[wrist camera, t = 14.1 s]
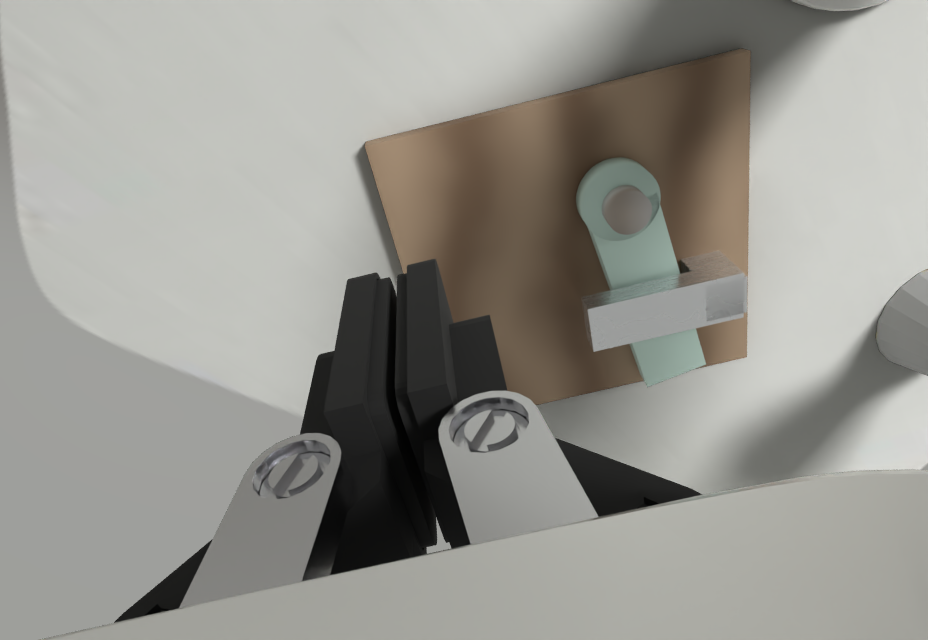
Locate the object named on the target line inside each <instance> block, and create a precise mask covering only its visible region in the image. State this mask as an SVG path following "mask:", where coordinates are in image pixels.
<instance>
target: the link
mask: <svg viewBox="0 0 928 640" xmlns="http://www.w3.org/2000/svg"><path fill="white" fill-rule="evenodd" d="M621 185H632V186H634V187H636V188H638V189H639V190H640V191H641V192H642V193H643V194H644V195H645V196H646V197H647V198H648V199H649V201H650V202H651V205H652V215H651V218H650V220H649V222H648V223H647V225H646V226H645V227H644V228H643V229H641V230H640V231H638V232H636V233H634V234H630V235H623V234H619V233H617V232H615V231H614V230H613V229H612V228H611V227H610V225H609V224H608V223H607V221H606V220H605V219H604V217H603V215H602V203H603V200H604V198H605V197H606V195H607V194H608V193H609V192H610V191H611V190H612V189H614V188H616V187H618V186H621ZM660 200H661V194H660V188H659V185H658V183H657V181H656V179H655V178H654V177H653V175H652V174H651V173H649V172H648V171H647V170H646V169H645V168H644V167H643V166H642V165H640V164H639V163H638V162H636V161H634V160H632V159H628V158H623V157H616V158H610V159H606V160H604V161H602V162H600V163H598V164H596V165H595V166H593V167H592V168H591V169H590V170H589V171H588V172H587V173H586V174H585V176H584V177H583V178H582V180H581V182H580V184H579V186H578V190H577V194H576V205H577V209H578V212H579V214H580V216H581V218H582V219H583V221H584V222H585V224H586V225H587V227H588V230H589V233H590V236H591V238H592V241H593V244H594V247H595V249H596V252H597V255H598V258H599V261H600V263H601V266H602V269H603V272H604V275H605V277H606V280H607V283H608V286H609V288H610V290H613V289H618V288H622V287H626V286H630V285H635V284H639V283H643V282H648V281H652V280H656V279H660V278H665V277H669V276H673V275H677V274H680V271H679V268H678V264H677V261H676V257H675V254H674V251H673V247H672V244H671V240H670V237H669V233H668V230H667V226H666V223H665V219H664V216H663V212H662V209H661V205H660ZM630 347H631V350H632V352H633V355H634V358H635V361H636V364H637V366H638V369H639V372H640V375H641V376H642V378H643V380H644V382H645V383H646V385H647V387H649V386H652V385H655V384H657V383H660V382H662V381H665V380H667V379H670V378H673V377H675V376H678V375H680V374H683V373H685V372H688V371H691V370H693V369H696V368H698V367H701V366H703V365H706V362H705V359H704V355H703V352H702V348H701V345H700V341H699V338H698V334H697V331H696V328H695V329H691V330H686V331H682V332H678V333H673V334H669V335H665V336H660V337H656V338H652V339H647V340H643V341H639V342H634V343H630Z"/></svg>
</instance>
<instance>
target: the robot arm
mask: <svg viewBox="0 0 928 640" xmlns="http://www.w3.org/2000/svg"><path fill="white" fill-rule="evenodd" d="M791 1H793V2H795V3H798V4H801V5H804V6H807V7H810V8H813V9H821V10H829V11H851V10H859V9H863V8H867V7H871V6H875V5H879V4H881V3H883V2H886V1H888V0H791ZM436 517H437V520H438V523H439V526H440V528H441V531H442V534H443V537H444V539H445V541H446V543H447V542H450V545H451V548H452V549H448V550H443V551H439V552H434V553H429V554H427V552H426V547H429V546H433V545H436V544H437V528H436ZM40 640H928V470H914V469H905V470H865V471H848V472H839V473H830V474H821V475H812V476H803V477H797V478H792V479H786V480H781V481H775V482H770V483H764V484H759V485H753V486H748V487H742V488H737V489H731V490H726V491H720V492H715V493H709V494H704V495H702V494H700V493H698V492H696V491H695V490H693V489H690V488H688V487H685V486H682V485H680V484H677V483H674V482H672V481H669V480H666V479H664V478H661V477H658V476H656V475H653V474H650V473H648V472H645V471H642V470H639V469H637V468H634V467H631V466H629V465H626V464H623V463H621V462H618V461H615V460H613V459H610V458H607V457H605V456H602V455H599V454H597V453H594V452H591V451H589V450H586V449H583V448H581V447H578V446H575V445H573V444H570V443H567V442H564V441H562V440H559V439H556V438H554V436H553V434H552V433H551V431H550V429H549V427H548V425H547V424H546V422H545V420H544V418H543V416H542V415H541V413H540V411H539V409H538V407H537V406H536V405H535V404H534V403H533V402H532V401H531V400H530V399H529V398H527V397H525V396H523V395H521V394H519V393H515V392H510V391H507V386H506V382H505V378H504V374H503V369H502V365H501V361H500V357H499V352H498V348H497V344H496V339H495V335H494V331H493V327H492V322H491V318H490V315H485V316H481V317H477V318H473V319H468V320H464V321H460V322H455V323H453V319H452V315H451V311H450V308H449V304H448V300H447V297H446V293H445V289H444V286H443V282H442V278H441V275H440V271H439V267H438V264H437V261H436V259H431V260H427V261H422V262H418V263H414V264H410V265H407V273H405V274H401V275H398V277H397V296H396V293H395V290H394V287H393V284H392V281H391V279H390V278H389V277H388V278H384V279H380V277H379V275H378V274H377V273H372V274H368V275H364V276H360V277H356V278H351V279H348V281H347V285H346V290H345V296H344V301H343V307H342V312H341V318H340V323H339V329H338V335H337V340H336V346H335V351H332V352H328V353H323V354H320V355H318V358H317V360H316V365H315V369H314V374H313V378H312V383H311V387H310V392H309V396H308V401H307V405H306V410H305V414H304V419H303V423H302V428H301V432H300V435H296V436H292V437H290V438H287V439H285V440H283V441H280V442H278V443H276V444H275V445H273V446H272V447H270V448H269V449H267V450H266V451H264V452H263V453H262V454H261V455H260V456H259V457H258V458H257V459H256V460H255V461H253V462H252V464H251V465H250V467H249V468H248V470H247V471H246V473H245V475H244V477H243V479H242V481H241V483H240V485H239V487H238V489H237V491H236V493H235V495H234V497H233V499H232V501H231V503H230V505H229V507H228V509H227V511H226V513H225V515H224V518H223V519H222V521H221V523H220V526H219V528H218V530H217V532H216V534H215V536H214V538H213V539H212V540H211V541H210V542H209V543H207V544H206V545H205V546H204V547H203V548H201V549H200V550H199V551H198V552H197V553H195V554H194V555H193V556H192V557H191V558H189V559H188V560H187V561H186V562H185V563H184V564H182V565H181V566H180V567H179V568H177V570H175V571H174V572H173V573H171V574H170V575H169V576H168V577H166V578H165V579H164V580H163V581H162V582H161V583H159V584H158V585H157V586H156V587H155V588H153V589H152V590H151V591H150V592H149V593H147V594H146V595H145V596H144V597H142V598H141V599H140V600H139V601H138V602H136V603H135V604H134V605H133V606H132V607H130V608H129V609H128V610H127V611H126V612H124V613H123V614H122V615H121V616H120V617H119V618H118V619H117V620H116V621H115V622H114V623H111V624H107V625H102V626H98V627H94V628H89V629H84V630H80V631H75V632H71V633H66V634H62V635H58V636H53V637H49V638H44V639H40Z"/></svg>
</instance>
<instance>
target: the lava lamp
mask: <svg viewBox="0 0 928 640" xmlns="http://www.w3.org/2000/svg"><path fill="white" fill-rule="evenodd" d="M876 340H877V344H878V348H879V351H880V352H881V353H882V354H883V355H884V356H885V357H886V358H887V359H888V361H891V362H893V363H896V364H898V365H901V366H903V367H906V368H909V369H911V370H914V371H917V372H919V373H922V374H925V375H927V376H928V269H927V270H925V271H923V272H921V273H918V274H917V275H916V276H915V277H913V278H912V279H911V280H909V281H908V282H907V283H906V284H904V285H903V286H902V287H900V288H899V290H898V291H897V292H896V293H895V294H894V296H893V297H892V298H891V299H890V300H889V302H888V303H887V304H886V306H885V308H884V310H883V312H882V314H881V316H880V318H879V320H878V325H877V331H876Z"/></svg>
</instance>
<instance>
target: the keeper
mask: <svg viewBox="0 0 928 640" xmlns="http://www.w3.org/2000/svg"><path fill="white" fill-rule="evenodd" d="M681 271H682V274H677V275H673V276H669V277H665V278H660V279H656V280H652V281H648V282H643V283H639V284H635V285H630V286H626V287H622V288H618V289H613V290H609V291H605V292H601V293H596V294H592V295H588V296H583V297H581V298H582V305H583V312H584V319H585V326H586V333H587V339H588V341H589V343H590V345H591V347H592V349H593V352H595V351H600V350H604V349H608V348H613V347H617V346H621V345H626V344H630V343H634V342H639V341H643V340H647V339H652V338H656V337H660V336H665V335H669V334H673V333H678V332H682V331H686V330H691V329H695V328H699V327H704V326H708V325H712V324H717V323H721V322H726V321H730V320H734V319H739V318H743V317H744V313H746V312H747V276H746V275H745V274H744V272H743V271H741V270H740V269H739V268H738V267H737V266H736V265H735V264H734V263H733V262H731V261H730V260H729V259H728V258H727V257H726V256H725V255H724V254H723V253H722V252H721V251H719V250H718V251H714V252H710V253H706V254H701V255H697V256H693V257H689V258H684V259H681Z"/></svg>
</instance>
